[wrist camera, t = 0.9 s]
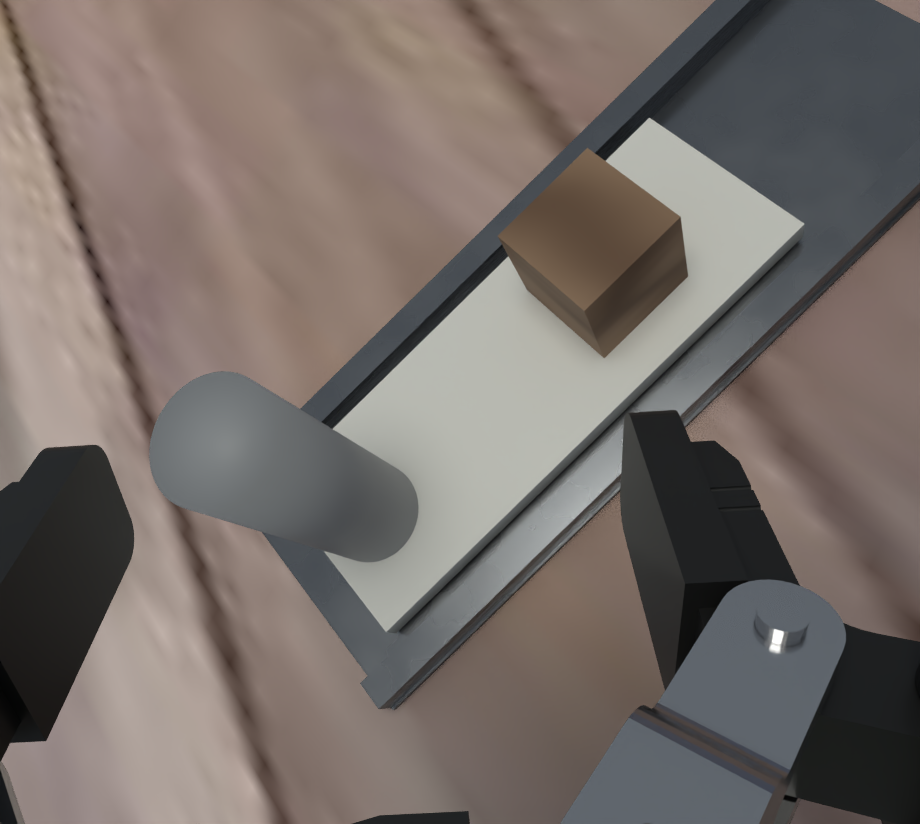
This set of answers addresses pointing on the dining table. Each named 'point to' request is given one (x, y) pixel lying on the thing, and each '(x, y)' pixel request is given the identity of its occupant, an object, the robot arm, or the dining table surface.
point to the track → (734, 334)
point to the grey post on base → (462, 405)
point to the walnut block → (597, 251)
